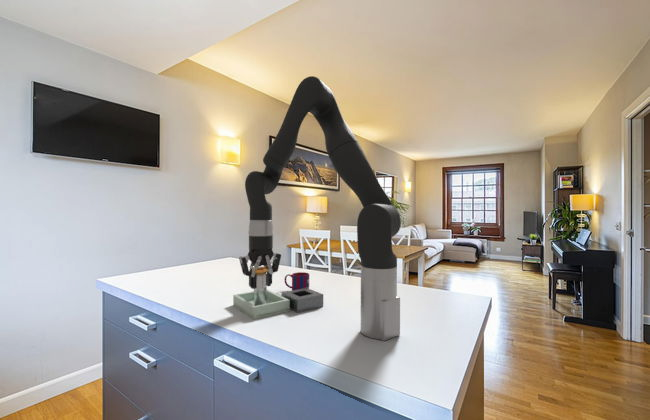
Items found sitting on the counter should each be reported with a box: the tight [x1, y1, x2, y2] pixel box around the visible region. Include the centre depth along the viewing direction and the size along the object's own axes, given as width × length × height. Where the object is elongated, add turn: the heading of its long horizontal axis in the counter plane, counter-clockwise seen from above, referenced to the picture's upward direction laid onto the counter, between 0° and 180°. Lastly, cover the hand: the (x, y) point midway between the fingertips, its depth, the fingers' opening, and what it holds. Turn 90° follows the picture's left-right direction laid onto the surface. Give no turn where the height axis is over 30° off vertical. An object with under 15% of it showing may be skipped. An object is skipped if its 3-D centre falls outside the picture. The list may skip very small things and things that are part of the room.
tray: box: [232, 289, 291, 320], centre depth 96 cm, size 16×12×3 cm
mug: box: [284, 271, 310, 291], centre depth 117 cm, size 7×10×7 cm
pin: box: [253, 266, 268, 306], centre depth 96 cm, size 5×5×12 cm
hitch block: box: [280, 288, 324, 314], centre depth 99 cm, size 10×10×4 cm
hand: (260, 286), depth 96 cm, fingers open, 4 cm apart
